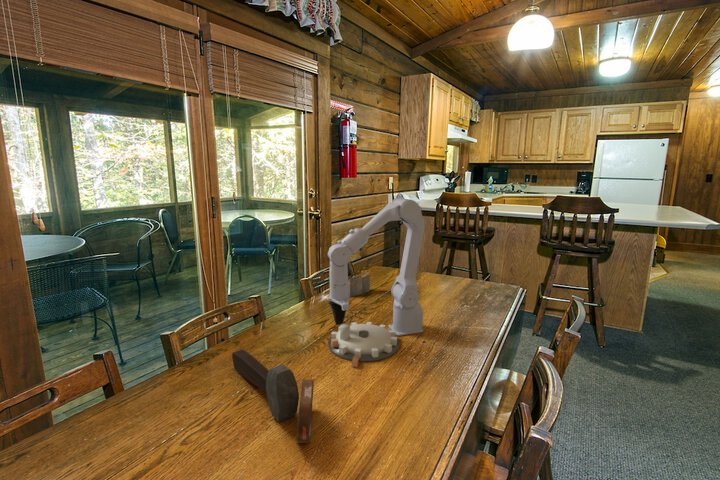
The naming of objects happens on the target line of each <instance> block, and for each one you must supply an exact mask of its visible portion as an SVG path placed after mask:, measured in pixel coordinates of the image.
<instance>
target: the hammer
mask: <svg viewBox="0 0 720 480" xmlns="http://www.w3.org/2000/svg"><path fill="white" fill-rule="evenodd" d="M231 354H232V355H231V357H232V365H233V368H234V370H235V371H236V372H237V373H238V374H239V375H240V376H241V377H242V378H244V379H245V380H247V381H248V382H250V383H251V384H252V385H254V386H256V387H257V388H259V389H260V390H261V391H262V392H264V393H265V394H266V399H267V402H268V407H269V410H270V413H271V416H272V417H273V418H274V419H275V421H277V422H278V423H281V422H283V421H285V420H288V419H291V418H293V417H294V416H296V414H297V413H298V410H299V401H300V393H299V387H298V382H297V380H296V377H295V374H294V372H293V371H292V370H291V369H290V368H289V367H288V365H287V366H286V365H284V364H281V365H280V364H279V365H277V366H274V367H273V368H270V369H268V368H267V367H266V366H265V365H263V363H261V362H260V361H259V360H258V359H256V358H255V356H253V355H252V354H250V352H248V351H246V350H245V349H239V350H236V351H233V352H232V353H231Z"/></svg>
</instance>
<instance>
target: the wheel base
mask: <svg viewBox="0 0 720 480" xmlns="http://www.w3.org/2000/svg"><path fill="white" fill-rule="evenodd" d="M395 337H397V335H395ZM327 341H328V342H327V346H328V349H329V351H330V352H331V353H332V354H333V355H335V356H337V357H338V358H341V359H343V360H345V361H349V362H350V361H351V367H352V368H358V367H359V364H360V363H370V362H371V363H372V362H377V361H378V362H379V361H383V360H385V359H388V358H391V357H393V356H394V355H395V354H397V352H398V351H399V350H400V349H399V348H400V341H399V339H398V337H397V345H396V346H393V345H392V352H390V353H387V352H381V353H378V357H375V358H373V357H372V356H371V355H361V357H358V356H355V354H350V353H345V354H343V355H342V354H340V353H339V347H334V348H332V346H331V336H330V337H329V339H328V340H327Z"/></svg>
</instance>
